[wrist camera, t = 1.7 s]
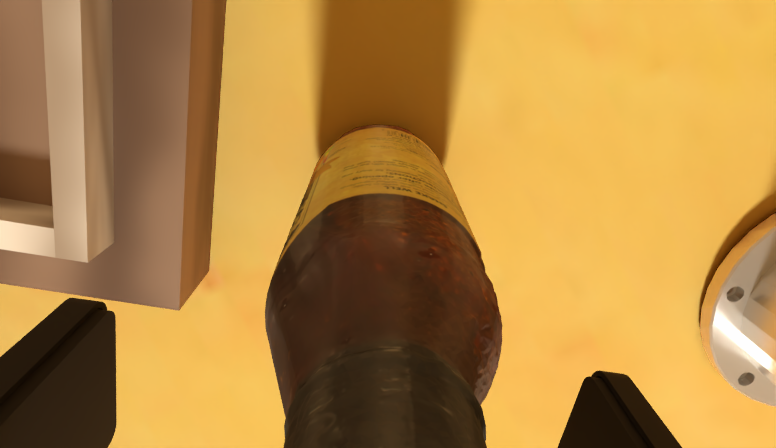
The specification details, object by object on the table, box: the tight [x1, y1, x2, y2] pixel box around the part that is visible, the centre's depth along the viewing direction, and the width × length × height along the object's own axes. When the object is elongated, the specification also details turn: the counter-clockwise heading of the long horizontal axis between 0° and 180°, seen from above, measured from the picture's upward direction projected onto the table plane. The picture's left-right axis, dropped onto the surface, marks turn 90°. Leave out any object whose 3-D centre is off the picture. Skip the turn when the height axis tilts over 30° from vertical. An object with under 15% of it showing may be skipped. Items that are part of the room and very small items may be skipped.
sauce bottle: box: [265, 125, 502, 448], centre depth 15 cm, size 6×6×20 cm
